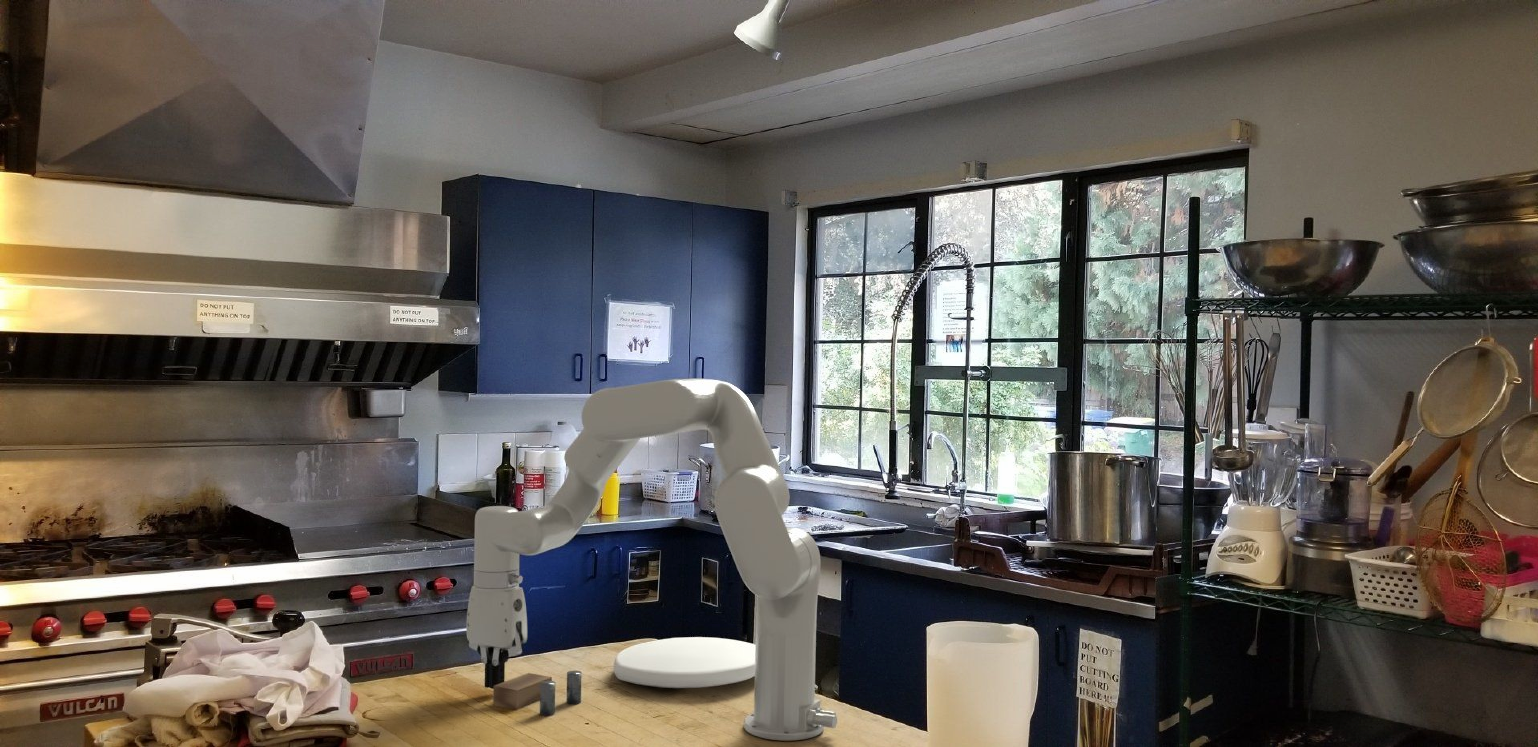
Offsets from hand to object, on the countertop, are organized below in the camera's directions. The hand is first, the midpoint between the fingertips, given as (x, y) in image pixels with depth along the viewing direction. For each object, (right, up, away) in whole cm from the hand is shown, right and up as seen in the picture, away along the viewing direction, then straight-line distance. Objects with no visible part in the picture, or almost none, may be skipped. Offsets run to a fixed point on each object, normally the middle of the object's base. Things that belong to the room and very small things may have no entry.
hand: (494, 685), depth 188 cm
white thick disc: (+33, -3, +13) cm, 35 cm away
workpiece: (+5, -2, -3) cm, 6 cm away
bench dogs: (+13, -2, -6) cm, 14 cm away
